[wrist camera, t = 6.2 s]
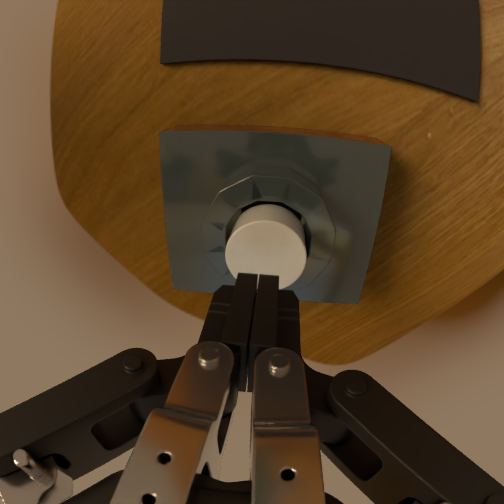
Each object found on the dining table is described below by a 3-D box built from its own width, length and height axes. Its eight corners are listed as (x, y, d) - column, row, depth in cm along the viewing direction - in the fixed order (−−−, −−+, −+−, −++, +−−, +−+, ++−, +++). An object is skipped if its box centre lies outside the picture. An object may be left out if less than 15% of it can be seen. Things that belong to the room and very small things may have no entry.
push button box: (185, 265, 22) (162, 308, 18) (177, 124, 17) (142, 137, 13) (350, 278, 21) (363, 325, 17) (376, 137, 16) (405, 154, 12)
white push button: (232, 265, 16) (225, 288, 14) (232, 201, 14) (224, 217, 13) (300, 271, 16) (301, 294, 14) (308, 206, 14) (311, 224, 12)
